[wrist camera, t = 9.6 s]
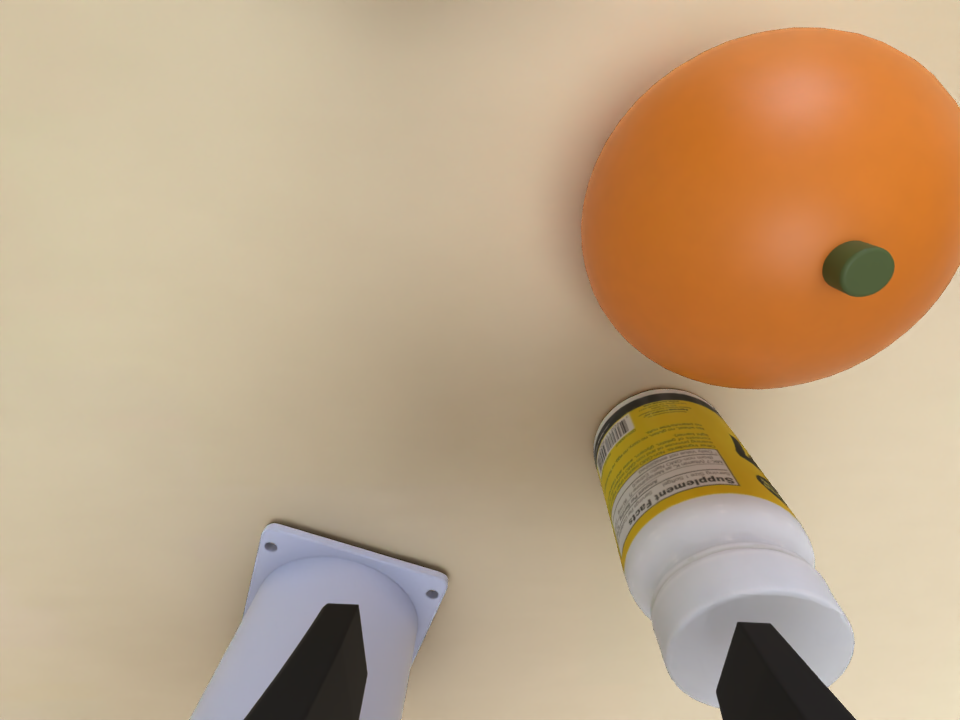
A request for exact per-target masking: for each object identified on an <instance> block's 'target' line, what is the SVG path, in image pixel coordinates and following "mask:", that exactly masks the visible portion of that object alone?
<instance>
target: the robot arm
mask: <svg viewBox="0 0 960 720" xmlns="http://www.w3.org/2000/svg"><path fill="white" fill-rule="evenodd" d="M272 543H274V544H275V545H274V544H272ZM447 587H448V578H447V576H446V575H445V574H443V573H441V572H439V571H435V570H432V569H429V568H425V567H422V566H419V565H415V564H412V563H408V562H405V561H402V560H398V559H395V558H392V557H388V556H385V555H382V554H378V553H375V552H372V551H368V550H365V549H362V548H358V547H355V546H351V545H348V544H345V543H341V542H338V541H335V540H331V539H328V538H325V537H321V536H318V535H315V534H311V533H308V532H304V531H301V530H298V529H294V528H291V527H288V526H284V525H281V524H276V523H272V524H269V525H267V526H266V527H265V529H264V531H263V532H262V534H261V539H260V543H259V548H258V552H257V556H256V561H255V565H254V570H253V574H252V578H251V583H250V587H249V592H248V596H247V601H246V605H245V609H244V614H243V618H242V622H241V623H240V625H239V627H238V629H237V631H236V633H235V635H234V637H233V638H232V640H231V642H230V644H229V646H228V648H227V650H226V652H225V653H224V655H223V657H222V659H221V661H220V663H219V665H218V667H217V668H216V670H215V672H214V674H213V676H212V678H211V680H210V682H209V683H208V685H207V687H206V689H205V691H204V693H203V695H202V697H201V698H200V700H199V702H198V704H197V706H196V708H195V710H194V711H193V713H192V715H191V717H190V719H189V720H401V719H402V713H403V708H404V702H405V696H406V691H407V685H408V679H409V674H410V668H411V666H412V664H413V661H414V659H415V657H416V655H417V653H418V651H419V648H420V646H421V644H422V642H423V640H424V638H425V636H426V633H427V631H428V629H429V627H430V625H431V623H432V621H433V618H434V616H435V614H436V612H437V610H438V608H439V605H440V603H441V601H442V599H443V597H444V595H445V593H446V590H447ZM431 590H434V591H431ZM716 695H717V699H718V703H719V707H720V711H721V714H722V718H723V720H856V719H855V718H854V717H853V716H852V714H851V713H850V712H849V711H848V710H847V709H846V708H845V707H844V706H843V705H842V703H841V702H840V701H839V700H838V699H837V698H836V697H835V696H834V694H833V693H832V692H831V691H830V690H829V689H828V688H827V687H826V685H825V684H824V683H823V682H822V681H821V680H820V679H819V677H818V676H817V675H816V674H815V673H814V672H813V671H812V670H811V668H810V667H809V666H808V665H807V664H806V663H805V662H804V660H803V659H802V658H801V657H800V656H799V655H798V654H797V652H796V651H795V650H794V649H793V648H792V647H791V646H790V644H789V643H788V642H787V641H786V640H785V639H784V638H783V637H782V635H781V634H780V633H779V632H778V631H777V630H776V629H775V628H774V626H773V625H772V624H771V623H755V622H737V625H736V628H735V631H734V634H733V637H732V641H731V644H730V647H729V650H728V653H727V657H726V660H725V663H724V666H723V669H722V673H721V676H720V679H719V682H718V685H717V689H716Z"/></svg>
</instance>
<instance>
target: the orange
mask: <svg viewBox="0 0 960 720" xmlns="http://www.w3.org/2000/svg"><path fill="white" fill-rule="evenodd" d="M581 237H582V251H583V257H584V263H585V268H586V271H587V275H588V278H589V281H590V284H591V287H592V290H593V292H594V294H595V297H596V299H597V301H598V303H599V305H600V307H601V308H602V310H603V311H604V313H605V314H606V316H607V317H608V319H609V320H610V322H611V323H612V324H613V326H614V327H615V328H616V329H617V331H618V332H619V333H620V334H621V335H622V336H623V337H624V338H625V339H626V340H627V341H628V343H630V344H631V345H632V346H633V347H635V348H636V349H637V350H638V351H639V352H641V353H642V354H643V355H645V356H646V357H648V358H649V359H651V360H652V361H654V362H656V363H657V364H659V365H660V366H662V367H664V368H665V369H668V370H670V371H672V372H674V373H677V374H679V375H681V376H684V377H687V378H690V379H693V380H696V381H700V382H703V383H707V384H710V385H716V386H722V387H728V388H741V389H770V388H782V387H787V386H793V385H798V384H803V383H808V382H812V381H815V380H819V379H822V378H826V377H829V376H832V375H834V374H837V373H839V372H842V371H844V370H847V369H849V368H852V367H853V366H855V365H857V364H859V363H861V362H863V361H865V360H867V359H869V358H871V357H872V356H874V355H875V354H877V353H878V352H880V351H882V350H883V349H885V348H886V347H888V346H889V345H890V344H892V343H893V342H894V341H895V340H897V339H898V338H899V337H901V336H902V335H903V334H904V333H906V332H907V331H908V330H909V329H910V328H911V327H912V326H913V325H915V324H916V323H917V322H918V321H919V320H920V319H921V318H922V317H923V316H924V315H925V314H926V313H927V311H928V310H929V309H930V308H931V307H932V306H933V304H934V303H935V302H936V301H937V300H938V299H939V297H940V296H941V294H942V293H943V291H944V290H945V289H946V287H947V286H948V284H949V283H950V281H951V279H952V278H953V276H954V274H955V272H956V270H957V269H958V267H959V265H960V108H959V107H958V105H957V103H956V102H955V100H954V99H953V98H952V97H951V95H950V94H949V93H948V92H947V91H946V89H945V88H944V87H943V86H942V85H941V83H940V82H939V81H938V80H937V79H936V77H935V76H934V75H933V74H932V73H931V72H929V71H928V70H927V69H926V68H925V67H923V66H922V65H921V64H920V63H919V62H917V61H916V60H915V59H913V58H911V57H909V56H908V55H906V54H904V53H902V52H900V51H899V50H897V49H895V48H893V47H891V46H889V45H887V44H885V43H884V42H881V41H878V40H875V39H873V38H870V37H867V36H864V35H861V34H857V33H851V32H845V31H839V30H833V29H826V28H795V27H794V28H787V29H779V30H772V31H765V32H760V33H755V34H752V35H748V36H744V37H741V38H737V39H734V40H730V41H728V42H725V43H723V44H721V45H718V46H716V47H714V48H711V49H709V50H707V51H704V52H703V53H701V54H699V55H698V56H696V57H694V58H692V59H691V60H689V61H687V62H686V63H684V64H682V65H680V66H679V67H677V68H675V69H674V70H673V71H671V72H670V73H669V74H667V75H666V76H665V77H663V78H662V79H661V80H659V81H658V82H657V83H655V84H654V85H653V86H652V87H651V88H650V89H649V90H648V91H647V92H646V93H645V94H644V95H643V96H641V97H640V98H639V99H638V100H637V101H636V102H635V103H634V105H633V106H632V107H631V108H630V109H629V111H628V112H627V113H626V114H625V116H624V117H623V118H622V119H621V120H620V122H619V123H618V125H617V126H616V128H615V129H614V131H613V132H612V134H611V135H610V137H609V138H608V140H607V142H606V143H605V145H604V147H603V149H602V151H601V153H600V155H599V157H598V159H597V162H596V164H595V166H594V169H593V172H592V175H591V178H590V180H589V183H588V187H587V191H586V196H585V200H584V205H583V213H582V223H581Z"/></svg>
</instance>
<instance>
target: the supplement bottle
mask: <svg viewBox="0 0 960 720" xmlns="http://www.w3.org/2000/svg"><path fill="white" fill-rule="evenodd" d="M594 460H595V464H596V469H597V471H598V475H599V479H600V482H601V486H602V490H603V494H604V497H605V501H606V505H607V508H608V513H609V516H610V520H611V524H612V528H613V532H614V536H615V540H616V544H617V548H618V552H619V556H620V560H621V564H622V567H623V571H624V574H625V578H626V581H627V584H628V587H629V590H630V592H631V594H632V596H633V598H634V600H635V602H636V603H637V605H638V606H639V608H640V609H641V610H642V611H643V613H644V614H645V615H646V616H647V617H648V618H649V619H650V620H651V621H652V625H653V630H654V633H655V635H656V638H657V641H658V644H659V647H660V650H661V653H662V657H663V660H664V663H665V666H666V668H667V671H668V673H669V675H670V677H671V679H672V680H673V681H674V682H675V684H676V685H677V686H678V687H679V688H680V689H681V690H682V691H683V692H684V693H686V694H687V695H689V696H690V697H691V698H693V699H695V700H697V701H699V702H702V703H704V704H707V705H710V706H713V707H716V708H720V707H719V703H718V699H717V695H716V689H717V685H718V682H719V679H720V676H721V673H722V669H723V666H724V663H725V660H726V657H727V653H728V650H729V647H730V644H731V641H732V637H733V634H734V631H735V628H736V625H737V622H755V623H771V624H772V625H773V626H774V628H775V629H776V630H777V631H778V632H779V633H780V634H781V635H782V637H783V638H784V639H785V640H786V641H787V642H788V643H789V644H790V646H791V647H792V648H793V649H794V650H795V651H796V652H797V654H798V655H799V656H800V657H801V658H802V659H803V660H804V662H805V663H806V664H807V665H808V666H809V667H810V668H811V670H812V671H813V672H814V673H815V674H816V675H817V676H818V677H819V679H820V680H821V681H822V682H823V683H824V684H825V685H826V687H829V686H830V685H831V684H832V683H834V682H835V681H836V680H837V679H838V678H839V677H840V676H841V675H842V674H843V672H844V671H845V670H846V668H847V666H848V664H849V663H850V660H851V658H852V655H853V651H854V644H855V643H854V633H853V630H852V626H851V624H850V622H849V621H848V619H847V617H846V615H845V614H844V612H843V611H842V609H841V607H840V606H839V604H838V603H837V601H836V600H835V598H834V596H833V595H832V593H831V591H830V589H829V587H828V585H827V583H826V581H825V580H824V578H823V577H822V576H821V575H820V573H819V572H818V571H817V570H815V558H814V552H813V548H812V545H811V542H810V540H809V538H808V536H807V534H806V532H805V530H804V528H803V527H802V525H801V524H800V522H799V521H798V520H797V518H796V517H795V516H794V514H793V513H792V512H791V510H790V509H789V508H788V506H787V505H786V503H785V502H784V501H783V499H782V498H781V497H780V495H779V494H778V492H777V491H776V490H775V488H774V487H773V486H772V485H771V483H770V482H769V481H768V479H767V478H766V477H765V475H764V474H763V472H762V471H761V470H760V468H759V467H758V466H757V464H756V463H755V462H754V460H753V459H752V457H751V456H750V455H749V454H748V452H747V451H746V449H745V448H744V446H743V445H742V444H741V442H740V441H739V440H738V438H737V437H736V436H735V434H734V433H733V432H732V430H731V429H730V428H729V426H728V425H727V424H726V422H725V421H724V420H723V418H722V417H721V416H720V415H719V413H718V412H717V411H716V410H715V409H714V408H713V407H712V406H711V405H710V404H709V403H708V402H707V401H705V400H704V399H702V398H700V397H699V396H697V395H694V394H692V393H689V392H686V391H682V390H676V389H657V390H650V391H646V392H643V393H640V394H637V395H635V396H633V397H630V398H628V399H626V400H625V401H623V402H621V403H620V404H619V405H617V406H616V407H615V408H613V409H612V410H611V411H610V412H609V413H608V415H607V416H606V417H605V418H604V420H603V421H602V423H601V424H600V426H599V428H598V431H597V433H596V436H595V441H594Z"/></svg>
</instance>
